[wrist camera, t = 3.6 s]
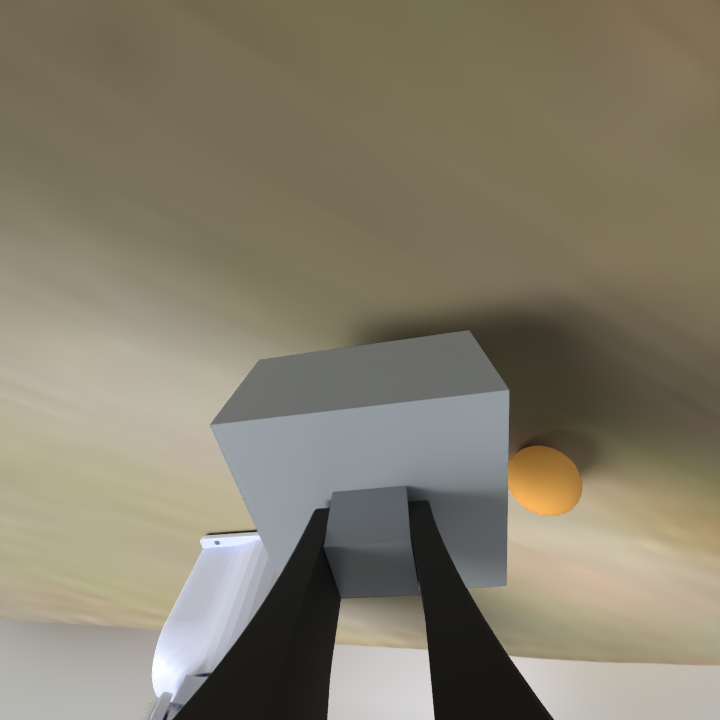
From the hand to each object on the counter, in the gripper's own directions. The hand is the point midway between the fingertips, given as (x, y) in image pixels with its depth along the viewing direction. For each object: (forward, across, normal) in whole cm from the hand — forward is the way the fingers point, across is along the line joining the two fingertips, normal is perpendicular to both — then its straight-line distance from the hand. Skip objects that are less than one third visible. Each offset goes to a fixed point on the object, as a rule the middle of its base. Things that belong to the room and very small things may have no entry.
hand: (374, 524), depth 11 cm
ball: (+8, -9, +7) cm, 14 cm away
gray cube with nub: (+5, 0, 0) cm, 5 cm away
